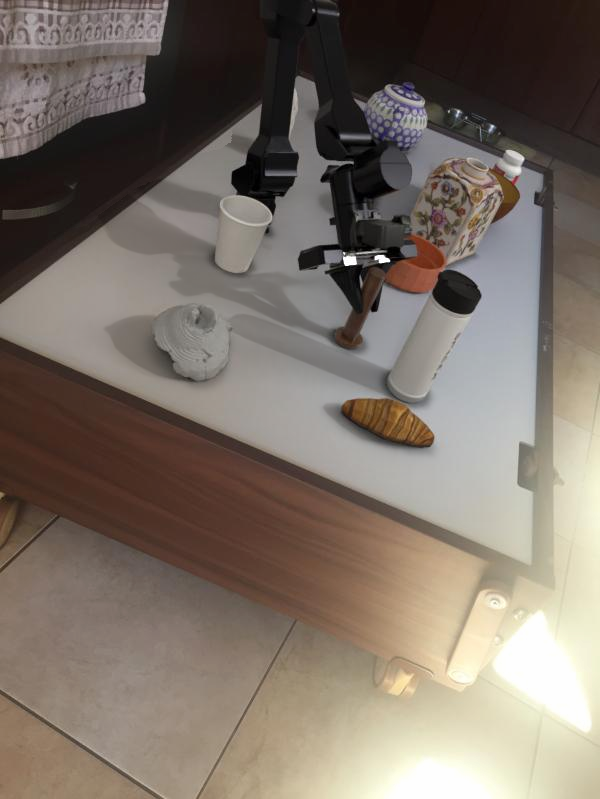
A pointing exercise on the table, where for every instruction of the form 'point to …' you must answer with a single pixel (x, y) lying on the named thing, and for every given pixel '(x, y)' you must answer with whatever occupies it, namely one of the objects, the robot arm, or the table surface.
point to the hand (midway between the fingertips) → (367, 313)
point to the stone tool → (293, 111)
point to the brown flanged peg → (351, 331)
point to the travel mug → (433, 336)
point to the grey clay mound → (193, 339)
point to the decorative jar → (457, 207)
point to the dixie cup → (240, 232)
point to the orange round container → (418, 268)
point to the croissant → (389, 420)
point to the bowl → (504, 195)
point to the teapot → (397, 115)
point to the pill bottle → (510, 165)
